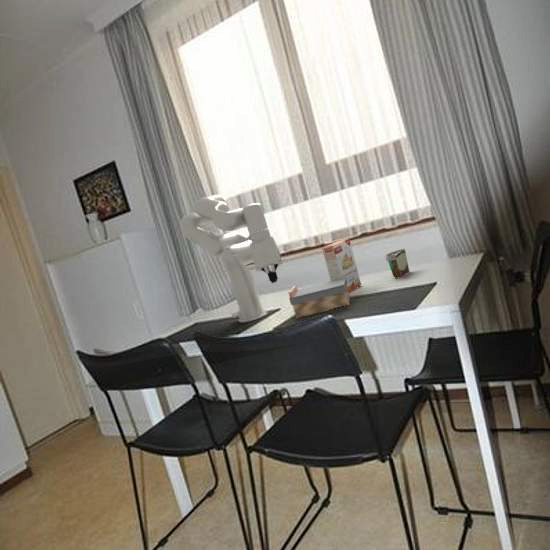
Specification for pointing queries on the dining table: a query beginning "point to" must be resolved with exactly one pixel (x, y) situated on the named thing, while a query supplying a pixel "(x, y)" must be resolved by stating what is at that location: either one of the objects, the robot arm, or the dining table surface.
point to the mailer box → (322, 304)
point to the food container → (398, 263)
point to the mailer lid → (317, 291)
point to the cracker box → (342, 263)
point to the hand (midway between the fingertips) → (274, 282)
